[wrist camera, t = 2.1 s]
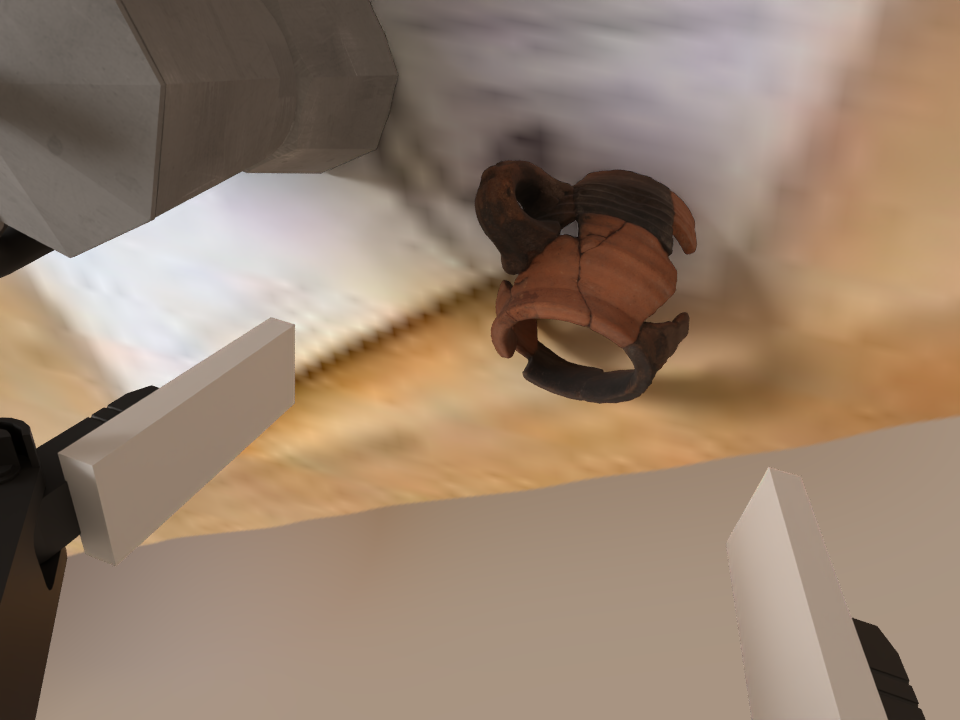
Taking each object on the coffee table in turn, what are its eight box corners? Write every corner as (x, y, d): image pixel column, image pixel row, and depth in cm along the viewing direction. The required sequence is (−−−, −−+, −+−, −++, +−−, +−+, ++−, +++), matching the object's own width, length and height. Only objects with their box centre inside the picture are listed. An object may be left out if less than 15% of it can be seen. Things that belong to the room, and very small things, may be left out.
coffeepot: (316, -144, 23) (-358, -560, 8) (469, 42, 25) (168, 6, 9) (164, 129, 31) (-326, 194, 15) (289, 257, 32) (-40, 432, 17)
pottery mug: (752, 251, 26) (723, 398, 22) (604, 309, 34) (563, 426, 30) (577, 56, 22) (502, 198, 18) (452, 174, 29) (381, 291, 25)
